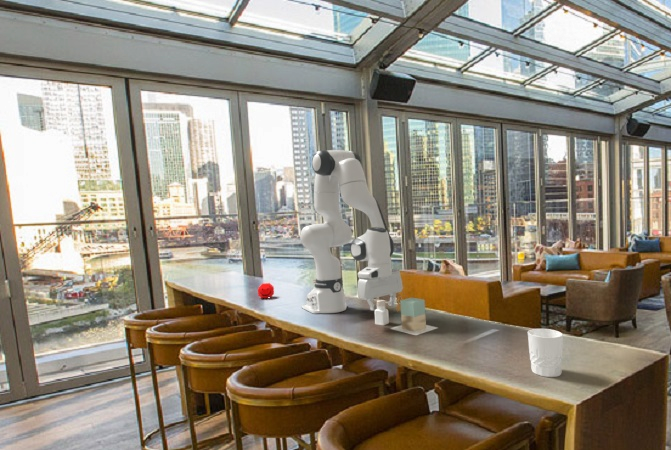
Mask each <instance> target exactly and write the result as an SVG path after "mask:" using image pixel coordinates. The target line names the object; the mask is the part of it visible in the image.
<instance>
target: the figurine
mask: <svg viewBox="0 0 671 450" xmlns="http://www.w3.org/2000/svg"><path fill="white" fill-rule="evenodd" d="M401 293H402V294H403V296H405V297H406V298H408V296H407V295H406V293H404V291H403V290H402V292H401ZM395 300H396V303H397V304H396V306H395V311H396V312H397V313H401V304H400V302H399V301H400V300H403V297H402V296H401V294H400V292H398V293H396V297H395Z"/></svg>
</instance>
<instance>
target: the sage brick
mask: <svg viewBox="0 0 671 450" xmlns="http://www.w3.org/2000/svg"><path fill="white" fill-rule="evenodd" d="M399 303H400V304H401V312H400V315H401V314H402V315H406V316H411V317H416V316H420V315H423V314H426V301H425V299H423V298H422V299H421V298H415V297H409V298H408V297H407V298H405V299H402V300H400V299H399Z"/></svg>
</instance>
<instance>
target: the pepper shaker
mask: <svg viewBox="0 0 671 450" xmlns="http://www.w3.org/2000/svg"><path fill="white" fill-rule="evenodd" d="M389 320H390V319H389V310H388V309H387V308H386V300H384V299H378V300H376V310H374V324H375V325H378V326H379V325H380V326H385V325H388V324H389V322H390V321H389Z"/></svg>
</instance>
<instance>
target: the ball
mask: <svg viewBox="0 0 671 450" xmlns="http://www.w3.org/2000/svg"><path fill="white" fill-rule="evenodd" d="M274 289H275V288H274V285H272V284H271V283H270V282H264V283H262V284H260V285H259V287H258V288H257V295H258V296H259V297H260V298H261V299H262V298H268V297H271V298H272V297H273V295H274V294H275V290H274Z"/></svg>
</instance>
